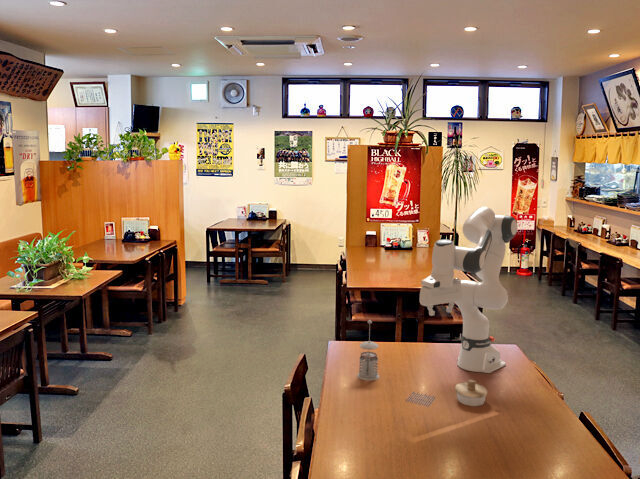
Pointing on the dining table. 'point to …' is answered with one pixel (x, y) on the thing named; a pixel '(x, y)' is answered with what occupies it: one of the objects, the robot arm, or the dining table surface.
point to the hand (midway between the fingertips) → (440, 313)
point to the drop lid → (471, 389)
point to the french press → (368, 361)
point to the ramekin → (470, 400)
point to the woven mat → (421, 399)
